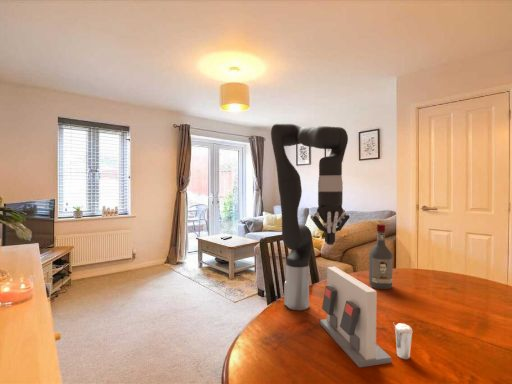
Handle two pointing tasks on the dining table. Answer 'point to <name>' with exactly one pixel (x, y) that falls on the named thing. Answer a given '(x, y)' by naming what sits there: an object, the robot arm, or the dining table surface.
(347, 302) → the rocker outlet
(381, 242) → the liquor
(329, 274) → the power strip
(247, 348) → the dining table surface
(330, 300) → the rocker outlet
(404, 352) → the milkshake
